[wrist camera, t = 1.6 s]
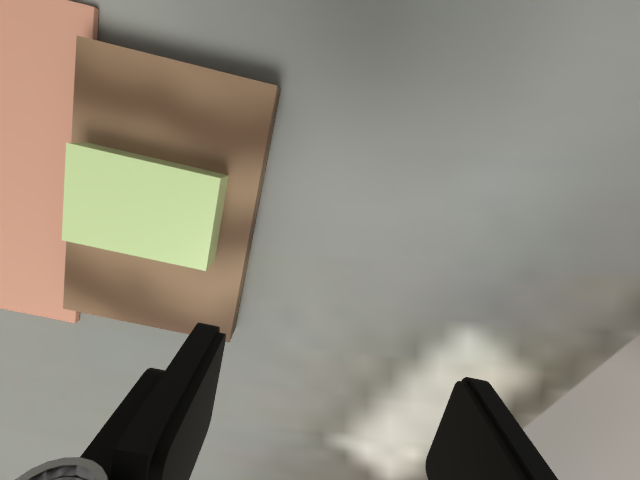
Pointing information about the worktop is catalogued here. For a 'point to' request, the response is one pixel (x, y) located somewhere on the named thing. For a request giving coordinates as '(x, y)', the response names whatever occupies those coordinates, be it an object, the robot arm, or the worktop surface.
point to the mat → (36, 148)
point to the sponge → (142, 205)
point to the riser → (179, 147)
